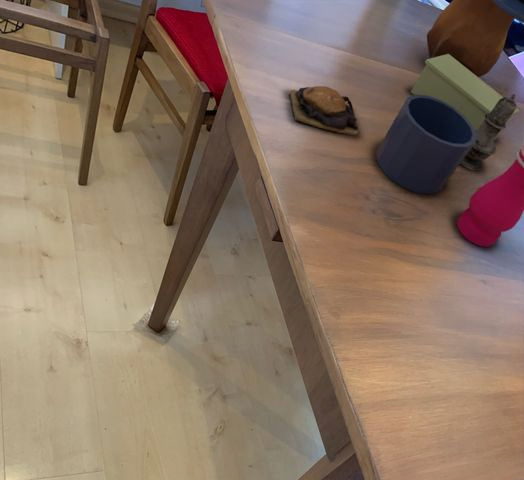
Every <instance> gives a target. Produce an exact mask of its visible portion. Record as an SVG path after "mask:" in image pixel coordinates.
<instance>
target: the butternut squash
mask: <svg viewBox="0 0 524 480" xmlns="http://www.w3.org/2000/svg"><path fill="white" fill-rule="evenodd" d="M514 20H516V19H515V18H513V17H511V16H510V15H508V14H507V13H505V12H504V11H503V10H501V9H500V8H499V7H498V6H497V5H496V4H495V3H494V2H493V1H492V0H451V2H450V3H449V4H448V5H447V6H446V7H444V9H443V10H442V11H441V12H440V14H439V15H438V16H437V18H436V20H435V21H434V23H433V25H432V27H431V28H430V29H429V30H428V32H427V33H426V42H427V49H428V56H429V57H430V58H429V59H431V58H434V57H438V56H442V55H446V54H449V55H451V56H452V57H453V58H454V59H456V60H457V61H458V62H459V63H461V64H462V65H463V66H464V67H466V68H467V69H468V70H469V71H471V72H472V73H473V74H474V75H476V76H477V77H478V78H481V77H483V76H485V75H487V74H489V72H491V70H492V68H494V66H495V65H496V64H497V62H498V61H499V60H500V58H501V55H502V52H503V51H504V47H505V44H506V40H507V37H508V32H509V30H510V28H511V25H512V24H513V23H514Z"/></svg>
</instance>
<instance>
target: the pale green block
mask: <svg viewBox="0 0 524 480" xmlns="http://www.w3.org/2000/svg"><path fill="white" fill-rule="evenodd" d="M424 63H425V65H424V67H423V70H421V73H420V74H419V76H418V78H417V80H416V81H415V84H414V85H413V87H412V88H411V91H410V93H411V94H412V95H426V96H430V97H433V98H436V99H439V100H442V101H443V102H445V103H447V104H449V105H450V106H452V107H454V108H455V109H457V110H458V111H459V112H460V113H461V114H463V115H464V116H465V117H466V118H467V119H468V121H469V122H470V123H471V125H472V126H473V127H474V129H475V130H477V129H478V128H479V127H480V126H481V124H482V123H483V121H484V120H485V115H486V114H490V112H491V111H492V109H493V108H494V107H495V105H496V104H497V102H498V101H499V100H500V99H501V98H503V97H504V96H502V95H501V94H500V93H499V92H497V91H496V90H495V89H494V88H492V87H491V86H490V85H489V84H487V83H486V82H485V81H484V80H482V79H481V78H480V77H477V76H476V75H474V74H473V73H472V72H471V71H469V70H468V69H467V68H466V67H464V66H463V65H462V64H461V63H459V62H458V61H457V60H456V59H454V58H453V57H452V56H451V55H449V54H446V55H442V56H438V57H434V58H428V59H426V60H425V62H424ZM520 111H521V110H520V109H518V108H517V107H516V109H515V111H514V113H513V114H512V115H511V117H510V118H509V119H508V121H507V122H506V123H505V124H506V126H507V125H508V124H509V122H510V121H511V120H512V118H513V117H514V116H515V115H517V114H519V112H520ZM503 130H504V129H501V131H500V132H499V133H498V135H497V136H496V137H495V139H494V141H495V140H497V138H498V137H499V135H500V134H501V133H502V132H503Z"/></svg>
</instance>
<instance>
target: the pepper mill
mask: <svg viewBox="0 0 524 480" xmlns="http://www.w3.org/2000/svg"><path fill="white" fill-rule="evenodd" d="M515 156H516V158H515V160H514V161H513V163H512V164H511V165H510V166H509V167H508V168H507V169H506V170H505V171H504V172H502V173H501V174H500V175H498V176H497V177H494V178H493V179H492V180H490V181H488V182H486V183H484V184H483V185H481V186H480V187H479V188H477V190H476V191H475V192H474V193H473V194H472V195H471V197H470V199H469V202H468V208H466V209H464V211H463V212H462V213H461V214H460V215H459V217H458V218H457V221H456V224H457V228H458V230H459V232H460V233H461V235H462V236H463V237H464V238H465V239H466V240H467V241H469V242H471V243H472V244H474V245H477V246H479V247H483V248H489V247H492V246H493V245H494V244H495V243H496V242H497V241H498V240H499V239H500V238H501V236H502V233H503V232H509V231H510V230H512V229H514V227H516V226H517V224H518V223H519V222H520V220H521V217H522V216H523V214H524V144H523V145H522V146H521V148H520V149H519V150H518V151H517V152H516V155H515Z"/></svg>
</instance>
